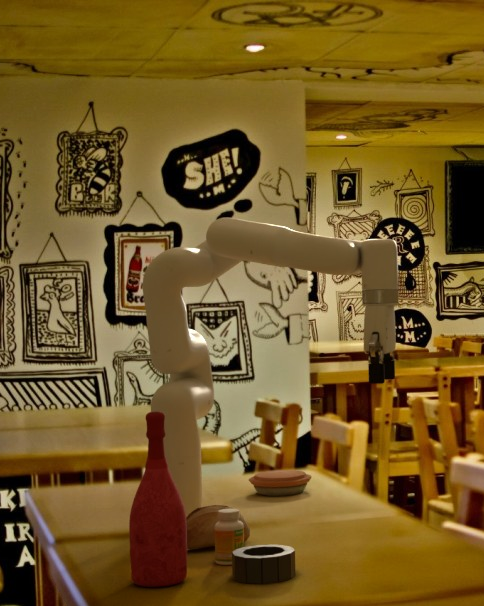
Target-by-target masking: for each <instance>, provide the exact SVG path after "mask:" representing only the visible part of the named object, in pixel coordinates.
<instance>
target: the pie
mask: <svg viewBox="0 0 484 606" xmlns="http://www.w3.org/2000/svg"><path fill="white" fill-rule="evenodd" d="M311 479H312V475H310V474H308V473H306V471H302V470H298V469H297V470H295V469H278V470H277V469H275V470H267V471H261V472H257V473H255V474H254V476H251V477H249V478H248V482H249V483H250V484H251V485H252V486H253V488H254V490H255V491H256V493H257V494H259V495H261V496H266V497H267V496H269V497H283V496H285V497H286V496H293V495H298V494H301V493H303V492H304V491H305V489H306V487H307V485H308V483H309V482H310V481H311Z"/></svg>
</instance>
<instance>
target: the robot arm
mask: <svg viewBox="0 0 484 606" xmlns="http://www.w3.org/2000/svg"><path fill="white" fill-rule="evenodd" d="M398 254H399V253H398V243H397V242H396V241H395V240H394V239H391V238H370V239H365V240H356V239H347V238H340V237H332V236H325V235H319V234H313V233H307V232H301V231H296V230H293V229H290V228H289V227H287V226H283V225H278V224H277V225H276V224H271V223H265V222H257V221H252V220H246V219H242V218H236V217H235V218H234V217H220V218H218V219H216V220H214V221H212V222H211V224H210V225H209V226H208V227H207V230H206V234H205V240H204V241H202V242H201V243H200V244H197V246H195V247H187V246H177V247H171V248H169V249H166V250H164V251H162V252H160V253H159V254H158V255H156V256H155V257H154V258H153V259H152V260H151V261H150V262H149V264H148V265H147V267H146V269H145V271H144V274H143V278H142V295H143V296H142V297H143V303H144V308H145V317H146V329H147V337H148V345H149V355H150V359H151V363H152V365H153V367H154V369H156V370H157V371H158V372H160V373H162V374H165V375H170V381H167V382H165V383H163V384H162V385H160V386H159V387H158V388H157V389H156V390H155V392H154V394H153V396H152V397H151V402H150V412H153V411H159V412H162V413H164V415H165V422H164V429H165V432H166V436H165V437H164V452H165V458H166V460H167V464H168V470H169V472H170V474H171V476H172V479H173V481H174V483H175V485H176V487H177V489H178V491H179V494H180V496H181V499H182V502H183V505H184V508H185V513H186V517H187V516H188V515H189V514H190V513H191V512H192V511H193V510H195V509H197V508H200V507H204V506H203V505H204V504H203V472H202V470H203V469H202V441H201V436H200V435H201V434H200V430H199V425H198V420H200V419H203V418H205V417H206V416H207V415H208V414H209V413H210V412H211V410H212V408H213V407H214V403H215V388H214V379H213V372H212V371H213V370H212V364H211V363H212V362H211V356H210V350H209V349H210V348H209V346H208V343H207V341H206V340H205V338H204V336H203V335H202V334H201V333H199V332H198V331H197V330H194V329H192V328H189V323H188V312H187V307H186V303H185V300H184V298H183V295H182V291H183V289H184V288H199V287H204V286H207V285H209V284H211V283H212V282H214V281H216V280H218V278H220V277H221V276H223V275H224V274H226V273H227V272H228V271H230V270H232V268H234V267H236V266H237V265H238V264H240V263H241V262H243V261H245V262H250V263H255V264H261V265H266V266H267V265H268V266H272V267H279V268H291V269H296V270H302V271H308V272H313V273H319V274H323V275H324V274H326V275H331V276H351V275H357V274H361V303H362V305H361V306H362V307H364V319H363V352H364V353H365V354H366V355H367V356H368V360H367V362H368V363H367V366H368V383H369V384H371V385H374V384H375V385H376V384H377V385H378V384H380V385H381V384H382V385H383V384H385V381H387V380H388V381H389V380H390V381H391V380H393V381H394V380H395V379H396V360H395V353H394V352H395V350H396V344H397V343H396V342H397V341H396V340H397V338H396V337H397V336H396V333H397V331H396V315H395V314H396V313H395V306H399V304H400V303H399V301H400V299H399V263H398V262H399V261H398V258H399V256H398Z"/></svg>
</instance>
